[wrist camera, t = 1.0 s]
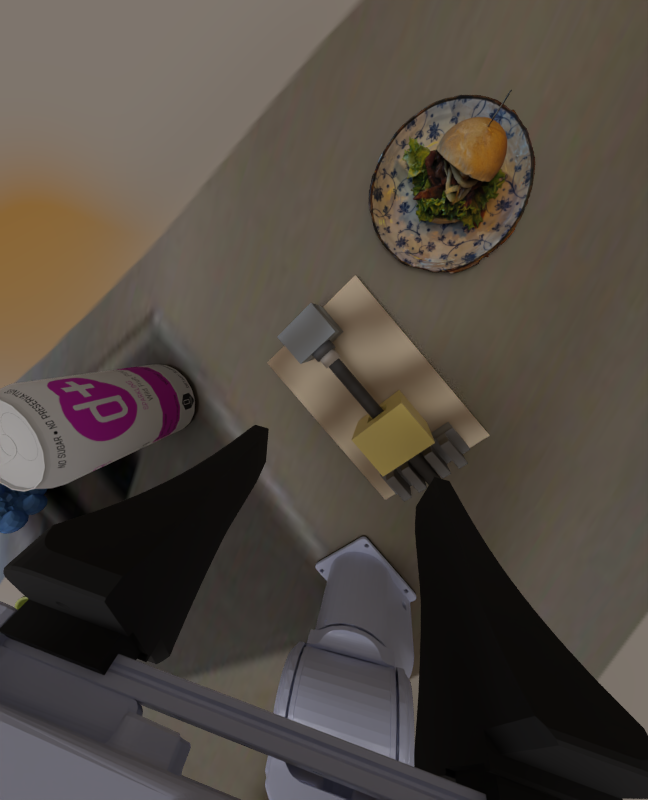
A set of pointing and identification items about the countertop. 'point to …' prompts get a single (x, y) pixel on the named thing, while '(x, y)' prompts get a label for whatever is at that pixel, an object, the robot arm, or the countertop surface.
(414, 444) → the sleeve
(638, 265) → the countertop surface
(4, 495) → the grapes
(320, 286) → the countertop surface
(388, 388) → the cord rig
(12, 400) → the supplement can
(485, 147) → the burger
